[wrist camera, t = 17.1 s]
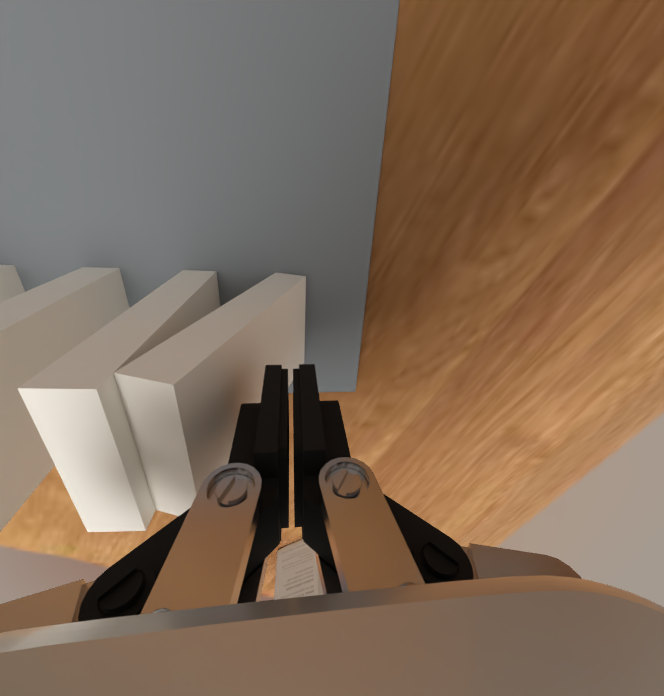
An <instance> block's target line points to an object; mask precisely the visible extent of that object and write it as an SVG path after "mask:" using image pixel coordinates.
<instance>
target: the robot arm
mask: <svg viewBox="0 0 664 696" xmlns="http://www.w3.org/2000/svg"><path fill="white" fill-rule="evenodd" d="M293 426H294V509H295V527H302V539H303V542H304V543H306V544H307V545H308V546H309V547H310V548H311V549H312V550H314V551H315V552H316V562H317V567H318V571H319V576H320V581H321V586H322V590H323V595H314V596H305V597H296V598H286V599H277V600H268V601H260V597H261V592H262V587H263V582H264V577H265V572H266V567H267V556H268V555H269V554H270V553H271V552H272V551H273V550H274V549H275V548H276V547H277V546H278V545H279V544H280V541H281V528H289V400H288V369H282V365H266V366H265V373H264V380H263V388H262V395H261V403H242V404H241V407H240V411H239V416H238V420H237V425H236V429H235V434H234V438H233V443H232V448H231V452H230V457H229V461H228V464H227V465H223V466H221V467H219V468H217V469H215V470H214V471H212V472H211V473H210V474H209V475H208V476H207V477H206V478H205V480H204V481H203V483H202V484H201V486H200V489H199V491H198V493H197V495H196V497H195V499H194V501H193V503H192V506H191V508H189V509H188V510H187V511H185V512H184V513H183V514H181V515H180V516H178V517H177V518H176V519H174V520H173V521H172V522H170V523H169V524H168V525H166V526H165V527H164V528H162V529H161V530H160V531H158V532H157V533H156V534H154V535H153V536H151V537H150V538H149V539H147V540H146V541H145V542H143V543H142V544H141V545H139V546H138V547H137V548H135V549H134V550H133V551H131V552H130V553H129V554H127V555H126V556H124V557H123V558H122V559H120V560H119V561H118V562H116V563H115V564H114V565H112V566H111V567H110V568H108V569H107V570H106V571H105V572H104V573H103V574H102V575H101V576H99V577H98V578H97V579H96V580H95V581H92V582H89V583H85V581H84V579H82V580H79V581H75V582H72V583H69V584H65V585H62V586H59V587H55V588H52V589H49V590H46V591H42V592H39V593H36V594H32V595H29V596H26V597H22V598H19V599H16V600H12V601H9V602H6V603H3V604H0V696H664V607H663V606H661V605H658V604H656V603H654V602H652V601H650V600H648V599H646V598H643V597H641V596H638V595H636V594H633V593H631V592H628V591H624V590H622V589H619V588H616V587H612V586H609V585H605V584H601V583H597V582H594V581H589V580H585V579H582V578H581V577H580V576H579V575H578V574H577V573H576V572H575V571H574V570H573V569H572V568H571V567H570V566H568V565H567V564H565V563H564V562H562V561H560V560H559V559H557V558H554V557H551V556H547V555H542V554H536V553H529V552H523V551H516V550H510V549H503V548H497V547H490V546H484V545H477V544H471V543H470V544H469V547H462V546H460V545H459V544H457V543H456V542H455V541H454V540H453V539H451V538H450V537H449V536H447V535H446V534H444V533H442V532H441V531H439V530H438V529H436V528H435V527H433V526H432V525H430V524H429V523H427V522H426V521H424V520H423V519H421V518H420V517H418V516H416V515H415V514H413V513H412V512H410V511H409V510H407V509H406V508H404V507H403V506H401V505H400V504H398V503H397V502H395V501H394V500H392V499H390V498H389V497H387V496H386V495H384V494H383V492H382V490H381V488H380V486H379V484H378V482H377V480H376V477H375V475H374V473H373V472H372V470H371V469H370V467H368V466H367V465H366V464H365V463H364V462H362V461H360V460H357V459H355V458H351V457H350V452H349V447H348V443H347V438H346V433H345V429H344V424H343V420H342V415H341V410H340V406H339V402H338V401H320V400H319V393H318V385H317V378H316V370H315V364H299V368H298V369H293Z"/></svg>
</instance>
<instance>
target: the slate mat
mask: <svg viewBox="0 0 664 696" xmlns="http://www.w3.org/2000/svg"><path fill="white" fill-rule="evenodd" d="M398 9H399V0H0V265H15V268H16V270H17V273H18V275H19V278H20V280H21V283H22V285H23V288H24V290H25V292H26V291H28V290H31V289H33V288H35V287H38V286H40V285H42V284H45V283H47V282H49V281H52V280H54V279H56V278H59V277H61V276H63V275H66V274H68V273H70V272H72V271H75V270H77V269H79V268H82V267H100V268H119V269H120V273H121V277H122V280H123V284H124V288H125V292H126V296H127V300H128V304H129V308H130V307H132V306H133V305H135V304H136V303H137V302H139V301H140V300H142V299H143V298H144V297H146V296H147V295H149V294H150V293H151V292H153V291H154V290H156V289H157V288H158V287H160V286H161V285H163V284H164V283H165V282H167V281H168V280H170V279H171V278H172V277H174V276H175V275H177V274H178V273H179V272H181V271H182V270H199V271H217V280H218V289H219V298H220V307H221V306H222V305H224V304H226V303H227V302H229V301H230V300H232V299H234V298H235V297H237V296H239V295H240V294H242V293H243V292H245V291H247V290H248V289H250V288H252V287H253V286H255V285H256V284H258V283H260V282H261V281H263V280H264V279H266V278H268V277H269V276H271V275H273V274H274V273H276V272H277V273H285V274H293V275H301V276H306V302H305V352H304V364H315V370H316V378H317V385H318V392H355V391H356V382H357V373H358V364H359V355H360V347H361V338H362V329H363V320H364V311H365V302H366V293H367V284H368V275H369V267H370V258H371V249H372V240H373V231H374V222H375V213H376V204H377V195H378V187H379V178H380V169H381V160H382V151H383V142H384V133H385V124H386V115H387V107H388V98H389V89H390V80H391V71H392V62H393V53H394V44H395V36H396V27H397V18H398ZM288 393H293V381H292V383H291V384H290V386H289V387H288Z"/></svg>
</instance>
